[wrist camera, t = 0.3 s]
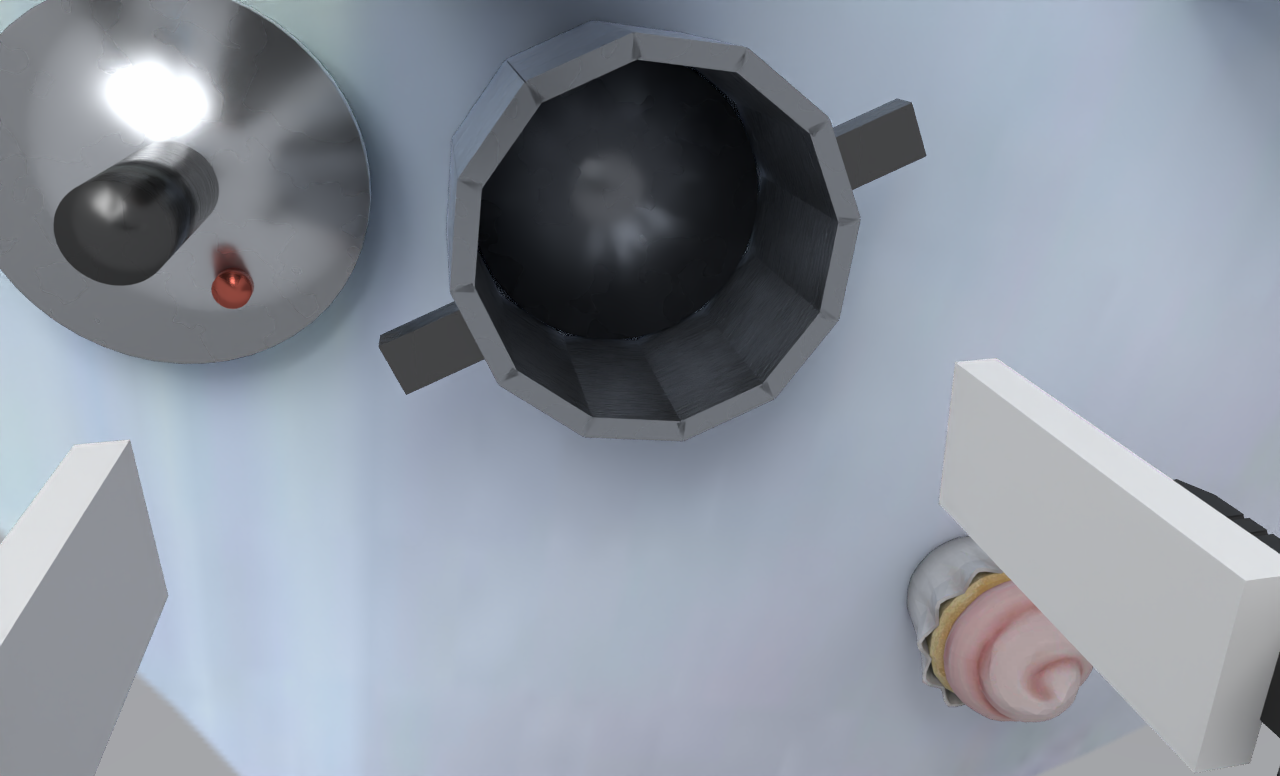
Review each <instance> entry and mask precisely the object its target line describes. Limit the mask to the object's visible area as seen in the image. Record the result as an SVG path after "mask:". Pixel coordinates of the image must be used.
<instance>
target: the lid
mask: <svg viewBox="0 0 1280 776" xmlns="http://www.w3.org/2000/svg"><path fill="white" fill-rule="evenodd" d="M370 204H371V179H370V170H369V164H368V158H367V152H366V148H365V145H364V141H363V138H362V135H361V132H360V128H359V126H358V123H357V121H356V119H355V117H354V115H353V112H352V110H351V108H350V106H349V103H348V102H347V100H346V98H345V97H344V95H343V94H342V92H341V90H340V89H339V87H338V85H337V84H336V82H335V80H334V79H333V78H332V77H331V75H330V74H329V73H328V72H327V70H326V69H325V68H324V66H323V65H322V64H321V63H320V61H319V60H318V59H317V58H316V57H315V56H314V55H313V54H312V53H311V52H310V51H309V50H308V49H307V48H306V47H305V46H304V45H303V44H302V43H301V42H300V41H299V40H298V39H297V38H295V37H294V36H293V35H292V34H290V33H289V32H288V31H287V30H285V29H284V28H283V27H282V26H280V25H279V24H278V23H276V22H275V21H273V20H272V19H270V18H268V17H267V16H265V15H264V14H262V13H260V12H259V11H257V10H256V9H254V8H252V7H250V6H248V5H246V4H244V3H241V2H239V1H237V0H46V1H44V2H42V3H41V4H39V5H37V6H35V7H33V8H31V9H30V10H28V11H27V12H26V13H24V14H23V15H22V16H21V17H19V18H18V19H17V20H15V21H14V22H13V23H11V24H10V25H9V26H8V27H7V28H6V29H5V30H4V31H3V32H2V33H1V34H0V269H1V270H2V271H3V273H4V274H5V275H6V276H7V277H8V279H9V280H10V281H11V282H12V283H13V285H14V286H15V287H16V288H17V289H18V290H19V291H20V292H21V293H22V294H24V295H25V296H26V297H27V298H28V299H29V300H30V301H31V302H32V303H33V304H34V305H35V306H36V307H38V308H39V309H40V310H42V311H43V312H44V313H46V314H47V315H48V316H50V317H51V318H52V319H53V320H55V321H56V322H58V323H59V324H61V325H63V326H64V327H66V328H68V329H69V330H71V331H73V332H74V333H76V334H78V335H79V336H81V337H84V338H86V339H88V340H90V341H92V342H94V343H96V344H99V345H101V346H103V347H106V348H109V349H112V350H114V351H117V352H120V353H123V354H126V355H130V356H134V357H139V358H143V359H148V360H152V361H159V362H169V363H178V364H204V363H213V362H221V361H229V360H233V359H237V358H241V357H245V356H249V355H253V354H255V353H258V352H260V351H263V350H266V349H268V348H271V347H273V346H275V345H277V344H279V343H281V342H283V341H285V340H286V339H288V338H290V337H292V336H294V335H295V334H297V333H298V332H299V331H301V330H302V329H304V328H305V327H306V326H308V325H309V324H310V323H312V322H313V321H314V320H315V319H316V318H317V317H318V316H319V315H320V314H321V313H322V312H323V311H324V310H325V309H326V308H328V306H329V305H330V304H331V303H332V301H333V300H334V299H335V298H336V296H337V295H338V294H339V293H340V291H341V290H342V289H343V287H344V285H345V283H346V282H347V280H348V278H349V276H350V275H351V273H352V271H353V269H354V267H355V265H356V262H357V260H358V257H359V255H360V252H361V250H362V246H363V242H364V238H365V234H366V230H367V226H368V222H369V214H370Z"/></svg>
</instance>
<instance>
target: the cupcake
mask: <svg viewBox="0 0 1280 776" xmlns="http://www.w3.org/2000/svg"><path fill="white" fill-rule="evenodd" d="M907 607H908V611H909V614H910V617H911V619H912V622H913V625H914V628H915V632H916V635H917V645H918V648H919V650H920V651H921V659H922V682H924V683H925V684H926V685H928V686H931V687H936V688H940V689H941V691H942V695H943V698H944V702H945V703H946V704H947V706H948V707H958V706H962V705H965V704H966V705H967V706H968V707H970V708H971V709H973V710H974V711H976V712H978V713H979V714H981V715H983V716H985V717H987V718H989V719H992V720H997V721H1021V722H1041V721H1046V720H1050V719H1052V718H1054V717H1057V716H1059V715H1060V714H1061V713H1062V712H1064V711H1065V710H1066V709H1067V708H1069V707H1070V705H1071V704H1072V703H1073V701H1074V700H1075V697H1076V694H1077V692H1078V689H1079V687H1080V686H1081V685H1082V684H1083V683H1084V682H1085V680H1086V679H1087V678H1088V676H1089V674H1090V673H1091V671H1092V668H1093V666H1092V665H1091V664H1090V663H1089V662H1088V661H1087V660H1086V658H1085V657H1084V656H1083V655H1082V654H1081V653H1080V652H1079V651H1078V650H1077V649H1076V648H1075V647H1074V646H1073V645H1072V644H1071V643H1070V642H1069V641H1068V640H1067V638H1066V637H1065V636H1064V635H1063V634H1062V633H1061V632H1060V631H1059V630H1058V629H1057V628H1056V627H1055V626H1054V625H1053V624H1052V623H1051V622H1050V621H1049V619H1048V618H1047V617H1046V616H1045V615H1044V614H1043V613H1042V612H1041V611H1040V610H1039V609H1038V608H1037V607H1036V606H1035V605H1034V604H1033V603H1032V602H1031V600H1030V599H1029V598H1028V597H1027V596H1026V595H1025V594H1024V593H1023V592H1022V591H1021V590H1020V589H1019V588H1018V587H1017V586H1016V585H1015V584H1014V583H1013V582H1012V580H1011V579H1010V578H1009V577H1008V576H1007V575H1006V574H1005V573H1004V572H1003V571H1002V570H1001V569H1000V568H999V567H998V566H997V565H996V564H995V563H994V561H993V560H992V559H991V558H990V557H989V556H988V555H987V554H986V553H985V552H984V551H983V550H982V549H981V548H980V547H979V546H978V545H977V544H976V542H975V541H974V540H973V539H972V538H971V537H970V536H966V537H960V538H955V539H953V540H951V541H948V542H946V543H944V544H942V545H941V546H939V547H937V548H936V549H934V550H933V551H931V552H930V553H929V554H928V555H927V556H926V557H925V558H924V559H923V560H922V562H921V563H920V564H919V565H918V567H917V568H916V570H915V572H914V573H913V575H912V577H911V580H910V583H909V587H908V596H907Z"/></svg>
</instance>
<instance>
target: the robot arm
mask: <svg viewBox="0 0 1280 776" xmlns="http://www.w3.org/2000/svg"><path fill="white" fill-rule="evenodd" d="M939 505H940V506H941V507H942V508H943V509H944V510H945V511H946V512H947V513H948V514H949V515H950V516H951V517H952V518H953V519H954V520H955V521H956V522H957V523H958V525H959V526H960V527H961V528H962V529H963V530H964V531H965V532H966V533H967V534H968V535H969V536H970V537H971V538H972V539H973V540H974V541H975V542H976V544H977V545H978V546H979V547H980V548H981V549H982V550H983V551H984V552H985V553H986V554H987V555H988V556H989V557H990V558H991V559H992V560H993V561H994V563H995V564H996V565H997V566H998V567H999V568H1000V569H1001V570H1002V571H1003V572H1004V573H1005V574H1006V575H1007V576H1008V577H1009V578H1010V579H1011V580H1012V582H1013V583H1014V584H1015V585H1016V586H1017V587H1018V588H1019V589H1020V590H1021V591H1022V592H1023V593H1024V594H1025V595H1026V596H1027V597H1028V598H1029V599H1030V600H1031V602H1032V603H1033V604H1034V605H1035V606H1036V607H1037V608H1038V609H1039V610H1040V611H1041V612H1042V613H1043V614H1044V615H1045V616H1046V617H1047V618H1048V619H1049V621H1050V622H1051V623H1052V624H1053V625H1054V626H1055V627H1056V628H1057V629H1058V630H1059V631H1060V632H1061V633H1062V634H1063V635H1064V636H1065V637H1066V638H1067V640H1068V641H1069V642H1070V643H1071V644H1072V645H1073V646H1074V647H1075V648H1076V649H1077V650H1078V651H1079V652H1080V653H1081V654H1082V655H1083V656H1084V657H1085V658H1086V660H1087V661H1088V662H1089V663H1090V664H1091V665H1092V666H1093V667H1094V668H1095V669H1096V670H1097V671H1098V672H1099V673H1100V674H1101V675H1102V676H1103V677H1104V679H1105V680H1106V681H1107V682H1108V683H1109V684H1110V685H1111V686H1112V687H1113V688H1114V689H1115V690H1116V691H1117V692H1118V693H1119V694H1120V695H1121V696H1122V698H1123V699H1124V700H1125V701H1126V702H1127V703H1128V704H1129V705H1130V706H1131V707H1132V708H1133V709H1134V710H1135V711H1136V712H1137V713H1138V714H1139V715H1140V717H1141V718H1142V719H1143V720H1144V721H1145V722H1146V723H1147V724H1148V725H1149V726H1150V727H1151V728H1152V729H1153V730H1154V731H1155V732H1156V733H1157V734H1158V735H1159V736H1160V738H1161V739H1162V740H1163V741H1164V742H1165V743H1166V744H1167V745H1168V746H1169V747H1170V748H1171V749H1172V750H1173V751H1174V752H1175V753H1176V754H1177V756H1178V757H1179V758H1180V759H1181V760H1182V761H1183V762H1184V763H1185V764H1186V765H1187V766H1188V767H1189V768H1190V769H1191V770H1192V771H1193V772H1194V773H1198V772H1204V771H1210V770H1215V769H1221V768H1226V767H1232V766H1238V765H1243V764H1249V763H1250V761H1251V758H1252V755H1253V751H1254V748H1255V744H1256V741H1257V737H1258V734H1259V730H1260V727H1261V724H1262V722H1263V723H1264V724H1265V725H1266V726H1267V727H1268V728H1269V729H1270V730H1272V731H1273V732H1274V733H1275V734H1276V735H1277V736H1278V737H1279V738H1280V538H1278V537H1277V536H1275V535H1274V534H1270V535H1268V533H1267V530H1266V529H1265V528H1263V527H1262V526H1260V525H1259V524H1257V523H1256V522H1254V521H1253V520H1251V519H1250V518H1244V514H1242V513H1241V512H1240V511H1238V510H1237V509H1235V508H1234V507H1232V506H1231V505H1229V504H1228V503H1226V502H1225V501H1223V500H1222V499H1220V498H1219V497H1217V496H1216V495H1214V494H1212V493H1209V492H1207V491H1204V490H1202V489H1199V488H1197V487H1194V486H1192V485H1190V484H1187V483H1185V482H1182V481H1180V480H1177V479H1175V480H1172V479H1171V478H1169V477H1168V476H1166V475H1165V474H1163V473H1162V472H1160V471H1159V470H1158V469H1156V468H1155V467H1153V466H1152V465H1150V464H1149V463H1147V462H1146V461H1145V460H1143V459H1142V458H1140V457H1139V456H1137V455H1136V454H1134V453H1133V452H1132V451H1130V450H1129V449H1127V448H1126V447H1124V446H1123V445H1121V444H1120V443H1119V442H1117V441H1116V440H1114V439H1113V438H1111V437H1110V436H1108V435H1107V434H1105V433H1104V432H1103V431H1101V430H1100V429H1098V428H1097V427H1095V426H1094V425H1092V424H1091V423H1090V422H1088V421H1087V420H1085V419H1084V418H1082V417H1081V416H1079V415H1078V414H1077V413H1075V412H1074V411H1072V410H1071V409H1069V408H1068V407H1066V406H1065V405H1064V404H1062V403H1061V402H1059V401H1058V400H1056V399H1055V398H1053V397H1052V396H1051V395H1049V394H1048V393H1046V392H1045V391H1043V390H1042V389H1040V388H1039V387H1038V386H1036V385H1035V384H1033V383H1032V382H1030V381H1029V380H1027V379H1026V378H1025V377H1023V376H1022V375H1020V374H1019V373H1017V372H1016V371H1014V370H1013V369H1011V368H1010V367H1009V366H1007V365H1006V364H1004V363H1003V362H1001V361H1000V360H998V359H997V358H993V359H982V360H972V361H961V362H955V367H954V376H953V384H952V393H951V401H950V410H949V419H948V427H947V436H946V444H945V453H944V461H943V470H942V478H941V487H940V495H939ZM167 598H168V593H167V589H166V585H165V581H164V576H163V572H162V568H161V564H160V560H159V556H158V552H157V548H156V544H155V540H154V536H153V532H152V528H151V523H150V519H149V515H148V511H147V507H146V503H145V499H144V495H143V491H142V487H141V483H140V479H139V475H138V470H137V466H136V462H135V458H134V454H133V450H132V446H131V442H130V440H120V441H109V442H98V443H88V444H77V445H73V447H72V448H71V449H70V451H69V452H68V453H67V455H66V456H65V458H64V459H63V460H62V462H61V463H60V464H59V466H58V467H57V468H56V470H55V471H54V472H53V474H52V475H51V477H50V478H49V479H48V481H47V482H46V483H45V485H44V486H43V487H42V489H41V490H40V491H39V493H38V494H37V496H36V497H35V498H34V500H33V501H32V502H31V504H30V505H29V506H28V508H27V509H26V510H25V512H24V513H23V514H22V516H21V517H20V519H19V520H18V521H17V523H16V524H15V525H14V527H13V528H12V529H11V531H10V532H9V533H8V535H7V536H6V538H5V539H4V540H3V542H2V543H1V544H0V776H94V775H95V773H96V770H97V768H98V765H99V763H100V760H101V758H102V755H103V753H104V751H105V748H106V746H107V743H108V741H109V738H110V736H111V734H112V731H113V729H114V726H115V724H116V722H117V719H118V717H119V714H120V712H121V709H122V707H123V705H124V702H125V699H126V697H127V694H128V692H129V690H130V687H131V685H132V683H133V680H134V678H135V675H136V673H137V671H138V668H139V666H140V663H141V661H142V658H143V656H144V654H145V651H146V649H147V646H148V644H149V641H150V639H151V637H152V634H153V632H154V629H155V627H156V624H157V622H158V620H159V617H160V615H161V612H162V610H163V607H164V605H165V602H166V600H167ZM1277 776H1280V768H1279V771H1278V774H1277Z"/></svg>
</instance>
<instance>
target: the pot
mask: <svg viewBox="0 0 1280 776" xmlns="http://www.w3.org/2000/svg"><path fill="white" fill-rule="evenodd" d="M506 60H507V61H506ZM506 60H505V61H504V62H503V63H502V65H501V66H500V68H499V69H498V71H497V72H496V74H495V75H494V77H493V78H492V80H491V81H490V83H489V84H488V85H487V87H486V88H485V90H484V91H483V93H482V94H481V96H480V97H479V99H478V100H477V102H476V103H475V105H474V106H473V107H472V109H471V110H470V112H469V113H468V115H467V116H466V118H465V119H464V121H463V122H462V124H461V125H460V127H459V128H458V130H457V131H456V132H455V134H454V135H453V137H452V144H451V160H450V177H449V193H448V209H447V225H446V233H447V250H448V268H449V285H450V293H451V295H452V297H453V299H454V302H452V303H450V304H447V305H445V306H443V307H441V308H439V309H437V310H434V311H432V312H430V313H428V314H426V315H423V316H421V317H419V318H417V319H415V320H413V321H410V322H408V323H406V324H404V325H402V326H399V327H397V328H395V329H393V330H391V331H389V332H386V333H384V334H382V335H380V341H379V348H380V350H381V352H382V354H383V355H384V357H385V359H386V361H387V362H388V364H389V366H390V367H391V369H392V371H393V373H394V374H395V376H396V378H397V380H398V381H399V383H400V385H401V387H402V388H403V390H404V392H405V394H406V395H407V394H409V393H412V392H414V391H416V390H418V389H420V388H422V387H425V386H427V385H429V384H431V383H433V382H435V381H438V380H440V379H442V378H444V377H446V376H449V375H451V374H453V373H455V372H457V371H459V370H462V369H464V368H466V367H468V366H470V365H472V364H475V363H477V362H479V361H481V360H483V359H485V360H486V362H487V364H488V366H489V368H490V370H491V371H492V373H493V375H494V377H495V379H496V381H497V383H498V384H499V386H501V387H503V388H504V389H506V390H508V391H509V392H511V393H513V394H514V395H516V396H517V397H519V398H521V399H522V400H524V401H526V402H527V403H529V404H531V405H532V406H534V407H535V408H537V409H539V410H540V411H542V412H544V413H545V414H547V415H549V416H550V417H552V418H553V419H555V420H557V421H558V422H560V423H562V424H563V425H565V426H567V427H568V428H570V429H571V430H573V431H575V432H576V433H578V434H580V435H581V436H583V437H584V436H585V437H590V438H615V439H640V440H665V441H683V440H684V441H685V440H687V439H689V438H692V437H694V436H696V435H698V434H700V433H702V432H705V431H707V430H709V429H711V428H713V427H715V426H718V425H720V424H722V423H724V422H726V421H728V420H731V419H733V418H735V417H737V416H739V415H741V414H744V413H746V412H748V411H750V410H752V409H754V408H757V407H759V406H761V405H763V404H765V403H767V402H769V401H772V400H774V398H776V397H777V396H778V395H779V393H780V392H781V391H782V390H783V388H784V387H785V386H786V385H787V383H788V382H789V381H790V380H791V378H792V377H793V376H794V375H795V374H796V372H797V371H798V370H799V369H800V367H801V366H802V365H803V364H804V362H805V361H806V360H807V359H808V357H809V356H810V355H811V354H812V353H813V351H814V350H815V349H816V348H817V346H818V345H819V344H820V343H821V341H822V340H823V339H824V338H825V336H826V335H827V334H828V333H829V332H830V330H831V329H832V328H833V327H834V325H835V324H836V323H837V322H838V319H839V318H840V313H841V309H842V304H843V299H844V295H845V290H846V285H847V281H848V276H849V271H850V266H851V262H852V257H853V252H854V248H855V243H856V238H857V234H858V229H859V224H860V220H861V219H859V218H860V214H859V211H858V208H857V205H856V202H855V198H854V195H853V192H852V190H853V189H856V188H858V187H860V186H862V185H864V184H867V183H869V182H871V181H873V180H875V179H877V178H880V177H882V176H884V175H886V174H888V173H890V172H893V171H895V170H897V169H899V168H901V167H904V166H906V165H908V164H910V163H912V162H914V161H917V160H919V159H921V158H923V157H925V156H926V153H925V149H924V146H923V142H922V138H921V134H920V131H919V127H918V123H917V120H916V116H915V112H914V109H913V105H912V102H908V101H904V100H900V99H895V100H893V101H891V102H889V103H886V104H884V105H882V106H880V107H878V108H875V109H873V110H871V111H869V112H867V113H865V114H862V115H860V116H858V117H856V118H854V119H851V120H849V121H847V122H845V123H843V124H840V125H838V126H836V127H834V128H832V124H831V121H830V119H829V117H828V116H827V115H825V114H824V113H823V112H822V111H821V110H820V109H818V108H817V107H816V106H815V105H814V104H813V103H811V102H810V101H809V100H808V99H807V98H806V97H804V96H803V95H802V94H801V93H800V92H799V91H798V90H796V89H795V88H794V87H793V86H792V85H791V84H789V83H788V82H787V81H786V80H785V79H784V78H782V77H781V76H780V75H779V74H778V73H777V72H775V71H774V70H773V69H772V68H771V67H770V66H768V65H767V64H766V63H765V62H764V61H763V60H762V59H760V58H759V57H758V56H757V55H756V54H755V53H753V52H752V51H751V50H750V49H749V48H747V47H744V46H739V45H735V44H731V43H726V42H722V41H718V40H713V39H709V38H704V37H700V36H696V35H691V34H687V33H683V32H675V31H668V30H661V29H653V28H646V27H639V26H631V25H624V24H617V23H609V22H602V21H594V20H592V21H589V22H586V23H584V24H582V25H580V26H578V27H575V28H573V29H571V30H569V31H567V32H564V33H562V34H560V35H558V36H556V37H553V38H551V39H549V40H547V41H545V42H542V43H540V44H538V45H536V46H534V47H531V48H529V49H527V50H525V51H523V52H520V53H518V54H516V55H514V56H512V57H509V58H507V59H506ZM683 65H684V66H683ZM685 66H692V67H693V68H694V69H695V70H697V71H698V72H699V73H700V74H702V75H703V76H704V77H705V78H706V79H708V80H709V81H710V82H711V83H712V84H714V85H715V86H716V87H717V88H718V89H720V90H721V91H722V92H723V93H724V94H726V95H727V96H728V97H729V98H731V99H732V100H733V101H734V102H735V103H736V105H737V108H738V111H739V114H740V117H741V119H742V122H743V125H744V127H743V125H742V123H741V122H740V120H739V118H738V117H737V115H736V113H735V112H734V110H733V109H732V107H731V106H730V105H729V104H728V102H727V101H726V100H725V99H724V97H723V96H722V95H721V94H720V93H719V92H718V91H717V90H716V89H715V88H714V87H713V86H712V85H711V84H710V83H709V82H708V81H706V80H705V79H704V78H702V77H701V76H699V75H698V74H697V73H695V72H694V71H692V70H691V69H689V68H687V67H685ZM744 128H745V130H744ZM745 131H746V132H745ZM747 136H748V137H747ZM752 151H753V152H752ZM753 154H754V155H753ZM754 156H755V159H756V162H757V165H758V168H759V171H760V174H761V179H760V185H759V191H758V178H757V171H756V164H755V159H754ZM750 236H751V237H750ZM749 239H750V243H749V248H748V251H747V252H746V254H745V255H744V256H743V254H744V252H745V250H746V247H747V244H748V242H749ZM478 244H479V247H480V249H481V252H482V254H483V256H484V259H485V261H486V263H487V265H488V267H489V269H490V270H491V272H492V274H493V275H494V277H495V279H496V280H497V281H498V283H499V284H500V285H501V287H502V288H503V289H504V290H505V292H506V293H507V294H508V295H509V296H510V297H511V298H512V299H513V300H514V301H515V302H516V303H517V304H518V305H519V306H520V307H522V308H523V309H524V310H526V311H527V312H526V311H524V310H523V309H521V308H520V307H518V306H517V305H515V304H514V303H512V302H511V301H509V300H508V299H506V298H505V297H503V296H501V295H500V293H499V291H498V289H497V287H496V285H495V283H494V281H493V279H492V277H491V275H490V273H489V271H488V269H487V267H486V265H485V263H484V261H483V259H482V257H481V255H480V253H479V251H478V249H477V247H478ZM742 256H743V258H742ZM741 258H742V259H741ZM707 302H708V303H707ZM706 303H707V304H706ZM705 304H706V305H705ZM703 305H705V307H704V308H703V309H702V310H700V311H698V312H696V311H697V310H698V309H700V308H701V307H702V306H703ZM694 312H695V313H694ZM529 313H530V314H529ZM538 319H539V320H538ZM541 321H542V322H541ZM543 322H544V323H546V324H547V325H549V326H551V327H554V328H556V329H559V330H561V331H564V332H566V333H570V334H574V335H578V336H564V335H561V334H560V333H558V332H557V331H555V330H554V329H552V328H551V327H549V326H547V325H546V324H544V323H543ZM647 334H648V335H647ZM643 335H645V336H643ZM580 336H581V337H580ZM639 336H643V337H641V338H639V339H637V340H627V339H626V338H634V337H639Z"/></svg>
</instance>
